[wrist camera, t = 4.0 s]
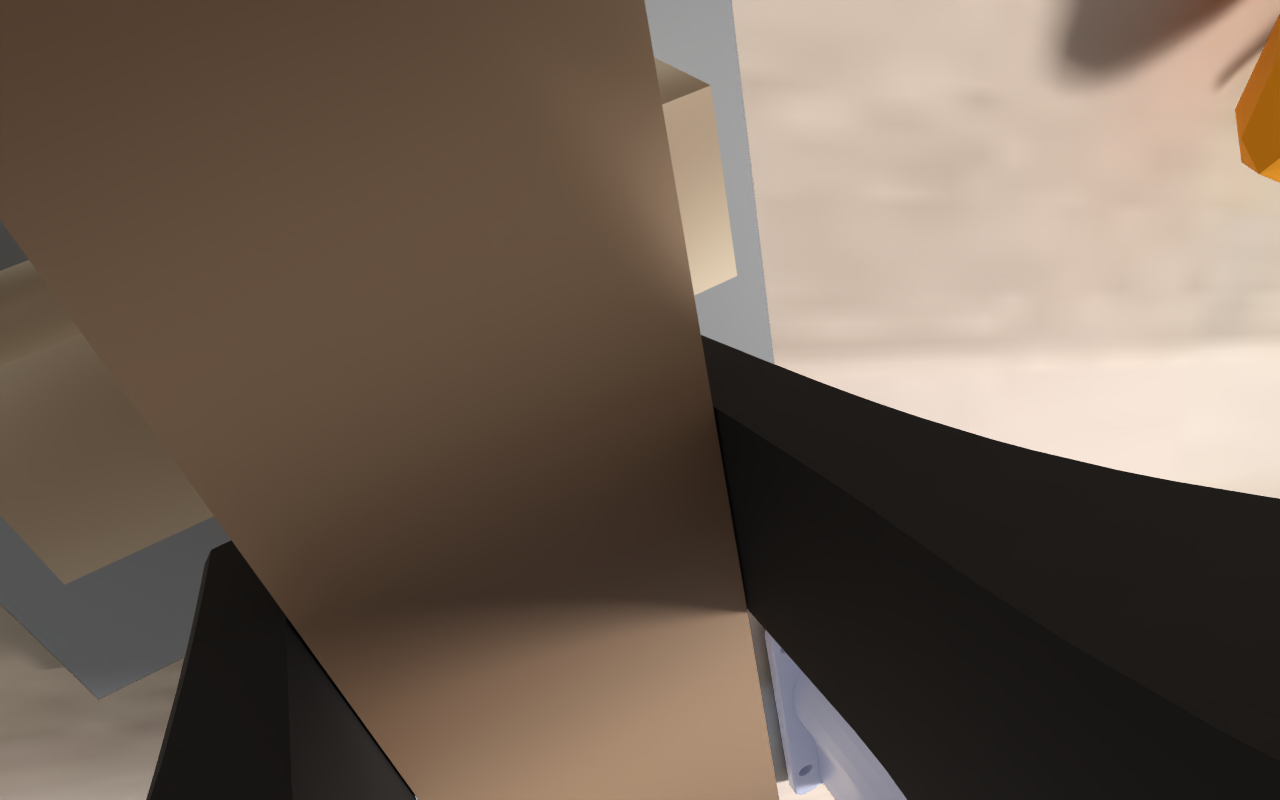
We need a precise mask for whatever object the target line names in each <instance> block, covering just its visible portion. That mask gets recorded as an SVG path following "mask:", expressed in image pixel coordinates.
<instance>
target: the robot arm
mask: <svg viewBox="0 0 1280 800" xmlns="http://www.w3.org/2000/svg"><path fill="white" fill-rule="evenodd" d="M701 339H702V345H703V351H704V357H705V363H706V369H707V374H708V380H709V386H710V392H711V398H712V404H713V410H714V416H715V422H716V428H717V434H718V440H719V446H720V452H721V458H722V464H723V469H724V475H725V481H726V487H727V493H728V499H729V505H730V511H731V517H732V523H733V529H734V535H735V541H736V547H737V553H738V558H739V564H740V570H741V576H742V582H743V588H744V594H745V600H746V606H747V609H748V610H749V611H750V612H751V614H752V615H753V616H754V617H755V618H756V619H757V620H758V622H759V623H760V624H761V625H762V626H763V627H764V629H765V641H766V647H767V653H768V659H769V665H770V671H771V677H772V683H773V689H774V695H775V701H776V707H777V713H778V719H779V725H780V731H781V737H782V743H783V749H784V755H785V761H786V767H787V773H788V779H789V785H790V786H791V788H792V789H793V790H794V792H795V793H796V794H799V795H802V794H805V793H807V792H809V791H810V790H812V789H814V788H815V787H817V786H818V785H820V784H821V783H823V784H824V785H825V786H826V788H827V789H828V791H829V792H830V793H831V795H832V796H833V797H834V799H835V800H1280V499H1278V498H1271V497H1265V496H1259V495H1253V494H1247V493H1241V492H1235V491H1229V490H1223V489H1217V488H1211V487H1205V486H1199V485H1193V484H1187V483H1181V482H1175V481H1170V480H1165V479H1160V478H1154V477H1149V476H1144V475H1139V474H1134V473H1129V472H1124V471H1119V470H1115V469H1110V468H1106V467H1102V466H1098V465H1093V464H1089V463H1085V462H1080V461H1076V460H1072V459H1068V458H1063V457H1059V456H1055V455H1051V454H1046V453H1042V452H1038V451H1033V450H1030V449H1026V448H1022V447H1018V446H1015V445H1011V444H1007V443H1003V442H1000V441H996V440H992V439H989V438H985V437H982V436H979V435H976V434H972V433H969V432H966V431H962V430H959V429H956V428H953V427H949V426H946V425H943V424H940V423H936V422H933V421H930V420H926V419H923V418H920V417H917V416H914V415H911V414H908V413H905V412H902V411H899V410H896V409H893V408H890V407H887V406H884V405H881V404H878V403H876V402H873V401H870V400H867V399H864V398H861V397H859V396H856V395H853V394H850V393H848V392H845V391H842V390H840V389H837V388H834V387H831V386H829V385H826V384H823V383H821V382H818V381H816V380H813V379H810V378H808V377H805V376H803V375H800V374H797V373H795V372H792V371H790V370H787V369H785V368H782V367H780V366H777V365H775V364H772V363H770V362H767V361H765V360H762V359H760V358H757V357H755V356H752V355H750V354H747V353H745V352H742V351H740V350H738V349H735V348H733V347H730V346H728V345H725V344H723V343H720V342H718V341H715V340H713V339H710V338H708V337H705V336H703V335H701ZM146 800H416V798H415V794H414V792H413V791H412V790H411V788H410V787H409V785H408V784H407V783H406V781H405V780H404V778H403V777H402V776H401V774H400V773H399V772H398V770H397V769H396V767H395V766H394V765H393V763H392V762H391V760H390V759H389V758H388V756H387V755H386V754H385V752H384V751H383V749H382V748H381V747H380V745H379V744H378V742H377V741H376V740H375V738H374V737H373V736H372V734H371V733H370V731H369V730H368V729H367V727H366V726H365V724H364V723H363V722H362V720H361V719H360V718H359V716H358V715H357V713H356V712H355V711H354V709H353V708H352V706H351V705H350V704H349V702H348V701H347V700H346V698H345V697H344V695H343V694H342V693H341V691H340V690H339V688H338V687H337V686H336V684H335V683H334V682H333V680H332V679H331V677H330V676H329V675H328V673H327V672H326V670H325V669H324V668H323V666H322V665H321V664H320V662H319V661H318V659H317V658H316V657H315V655H314V654H313V652H312V651H311V650H310V648H309V647H308V646H307V644H306V643H305V641H304V640H303V639H302V637H301V636H300V634H299V633H298V632H297V630H296V629H295V628H294V626H293V625H292V623H291V622H290V621H289V619H288V618H287V616H286V615H285V614H284V612H283V611H282V610H281V608H280V607H279V605H278V604H277V603H276V601H275V600H274V598H273V597H272V596H271V594H270V593H269V592H268V590H267V589H266V587H265V586H264V585H263V583H262V582H261V580H260V579H259V578H258V576H257V575H256V574H255V572H254V571H253V569H252V568H251V567H250V565H249V564H248V562H247V561H246V560H245V558H244V557H243V556H242V554H241V553H240V551H239V550H238V549H237V547H236V546H235V544H234V543H233V542H232V540H231V541H229V542H226V543H224V544H222V545H220V546H218V547H216V548H214V549H212V550H211V551H210V553H209V556H208V558H207V560H206V562H205V565H204V570H203V575H202V580H201V585H200V590H199V595H198V600H197V605H196V609H195V614H194V619H193V623H192V628H191V633H190V637H189V641H188V646H187V650H186V654H185V658H184V663H183V667H182V671H181V675H180V679H179V683H178V688H177V692H176V695H175V699H174V703H173V706H172V710H171V714H170V717H169V721H168V725H167V728H166V732H165V736H164V739H163V743H162V747H161V750H160V754H159V758H158V761H157V765H156V769H155V772H154V776H153V779H152V782H151V786H150V789H149V793H148V796H147V799H146Z"/></svg>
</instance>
